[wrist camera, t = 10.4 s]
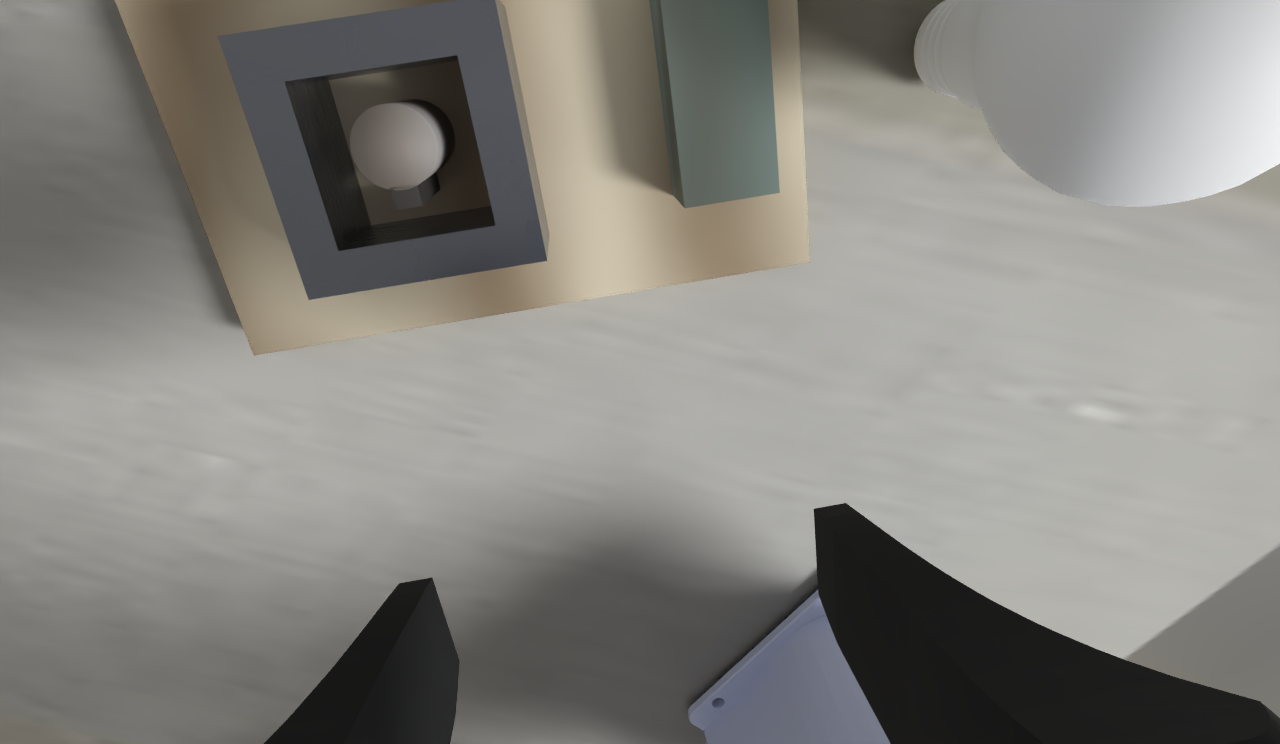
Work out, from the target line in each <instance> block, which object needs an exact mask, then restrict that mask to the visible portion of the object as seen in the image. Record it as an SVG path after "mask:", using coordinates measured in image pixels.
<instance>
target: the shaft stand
mask: <svg viewBox="0 0 1280 744" xmlns="http://www.w3.org/2000/svg"><path fill="white" fill-rule="evenodd" d="M447 1H453V0H115V2H116V5H117V7H118V10H119V12H120V15H121V18H122V20H123V23H124V25H125V28H126V30H127V33H128V35H129V38H130V41H131V43H132V46H133V48H134V51H135V53H136V56H137V58H138V61H139V64H140V66H141V69H142V71H143V74H144V76H145V79H146V81H147V84H148V87H149V89H150V92H151V94H152V97H153V99H154V102H155V104H156V107H157V109H158V112H159V115H160V117H161V120H162V122H163V125H164V127H165V130H166V132H167V135H168V138H169V140H170V143H171V145H172V148H173V150H174V153H175V155H176V158H177V161H178V163H179V166H180V168H181V171H182V173H183V176H184V178H185V181H186V184H187V186H188V189H189V191H190V194H191V196H192V199H193V201H194V204H195V207H196V209H197V212H198V214H199V217H200V219H201V222H202V224H203V227H204V230H205V232H206V235H207V237H208V240H209V242H210V245H211V247H212V250H213V252H214V255H215V258H216V260H217V263H218V265H219V268H220V270H221V273H222V275H223V278H224V281H225V283H226V286H227V288H228V291H229V293H230V296H231V298H232V301H233V304H234V306H235V309H236V311H237V314H238V316H239V319H240V321H241V324H242V327H243V329H244V332H245V334H246V337H247V339H248V342H249V344H250V347H251V350H252V352H253V355H259V354H265V353H271V352H277V351H283V350H289V349H295V348H301V347H307V346H313V345H319V344H325V343H331V342H337V341H343V340H349V339H355V338H361V337H367V336H372V335H378V334H384V333H390V332H396V331H402V330H408V329H414V328H420V327H426V326H432V325H438V324H444V323H450V322H456V321H462V320H468V319H474V318H480V317H486V316H492V315H498V314H504V313H510V312H516V311H522V310H528V309H534V308H540V307H546V306H551V305H557V304H563V303H569V302H575V301H581V300H587V299H593V298H599V297H605V296H611V295H617V294H623V293H629V292H635V291H641V290H647V289H653V288H659V287H665V286H671V285H677V284H683V283H689V282H695V281H701V280H707V279H713V278H719V277H725V276H730V275H736V274H742V273H748V272H754V271H760V270H766V269H772V268H778V267H784V266H790V265H796V264H802V263H808V262H810V254H809V233H808V212H807V191H806V170H805V149H804V128H803V107H802V86H801V65H800V44H799V23H798V2H797V0H500V2H501V3H502V4H503V5H504V6H505V8H506V13H507V18H508V23H509V28H510V34H511V39H512V44H513V49H514V54H515V59H516V64H517V69H518V75H519V80H520V85H521V90H522V95H523V100H524V105H525V111H526V116H527V121H528V126H529V131H530V136H531V141H532V147H533V152H534V157H535V162H536V167H537V172H538V177H539V182H540V188H541V193H542V198H543V203H544V208H545V213H546V218H547V224H548V229H549V234H550V235H549V247H548V258H547V261H543V262H537V263H531V264H525V265H519V266H513V267H507V268H501V269H495V270H489V271H482V272H476V273H470V274H464V275H458V276H452V277H446V278H440V279H434V280H428V281H422V282H416V283H410V284H403V285H397V286H391V287H385V288H379V289H373V290H367V291H361V292H355V293H349V294H343V295H337V296H331V297H324V298H318V299H312V300H308V297H307V294H306V291H305V288H304V285H303V282H302V279H301V276H300V273H299V271H298V268H297V265H296V262H295V259H294V256H293V253H292V250H291V247H290V245H289V242H288V239H287V236H286V233H285V230H284V227H283V224H282V221H281V218H280V216H279V213H278V210H277V207H276V204H275V201H274V198H273V195H272V192H271V189H270V187H269V184H268V181H267V178H266V175H265V172H264V169H263V166H262V163H261V161H260V158H259V155H258V152H257V149H256V146H255V143H254V140H253V137H252V134H251V132H250V129H249V126H248V123H247V120H246V117H245V114H244V111H243V108H242V106H241V103H240V100H239V97H238V94H237V91H236V88H235V85H234V82H233V79H232V77H231V74H230V71H229V68H228V65H227V62H226V59H225V56H224V53H223V50H222V48H221V45H220V42H219V39H218V36H221V35H228V34H234V33H241V32H248V31H254V30H261V29H267V28H274V27H281V26H287V25H294V24H301V23H307V22H314V21H321V20H327V19H334V18H340V17H347V16H354V15H360V14H367V13H374V12H380V11H387V10H393V9H400V8H407V7H413V6H420V5H427V4H433V3H440V2H447ZM329 83H330V87H331V90H332V94H333V97H334V100H335V104H336V107H337V110H338V114H339V117H340V121H341V124H342V127H343V131H344V134H345V138H346V141H347V144H348V148H349V151H350V155H351V158H352V161H353V165H354V168H355V172H356V175H357V178H358V182H359V185H360V188H361V192H362V195H363V199H364V202H365V205H366V209H367V212H368V216H369V219H370V222H371V225H376V224H382V223H388V222H395V221H401V220H407V219H413V218H419V217H426V216H432V215H438V214H444V213H450V212H457V211H463V210H469V209H475V208H481V207H488V206H491V203H490V199H489V194H488V190H487V185H486V181H485V176H484V172H483V167H482V163H481V158H480V154H479V150H478V145H477V141H476V136H475V132H474V127H473V123H472V118H471V114H470V109H469V105H468V101H467V96H466V92H465V87H464V83H463V78H462V74H461V69H460V65H459V60H458V61H452V62H445V63H439V64H432V65H426V66H419V67H413V68H406V69H400V70H393V71H387V72H380V73H374V74H367V75H361V76H354V77H348V78H341V79H335V80H329Z"/></svg>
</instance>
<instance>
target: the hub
mask: <svg viewBox="0 0 1280 744" xmlns="http://www.w3.org/2000/svg"><path fill="white" fill-rule="evenodd" d="M218 39H219V42H220V45H221V48H222V50H223V53H224V56H225V59H226V62H227V65H228V68H229V71H230V74H231V77H232V79H233V82H234V85H235V88H236V91H237V94H238V97H239V100H240V103H241V106H242V108H243V111H244V114H245V117H246V120H247V123H248V126H249V129H250V132H251V134H252V137H253V140H254V143H255V146H256V149H257V152H258V155H259V158H260V161H261V163H262V166H263V169H264V172H265V175H266V178H267V181H268V184H269V187H270V189H271V192H272V195H273V198H274V201H275V204H276V207H277V210H278V213H279V216H280V218H281V221H282V224H283V227H284V230H285V233H286V236H287V239H288V242H289V245H290V247H291V250H292V253H293V256H294V259H295V262H296V265H297V268H298V271H299V273H300V276H301V279H302V282H303V285H304V288H305V291H306V294H307V297H308V300H312V299H318V298H324V297H331V296H337V295H343V294H349V293H355V292H361V291H367V290H373V289H379V288H385V287H391V286H397V285H403V284H410V283H416V282H422V281H428V280H434V279H440V278H446V277H452V276H458V275H464V274H470V273H476V272H482V271H489V270H495V269H501V268H507V267H513V266H519V265H525V264H531V263H537V262H543V261H547V258H548V247H549V235H550V234H549V229H548V224H547V218H546V213H545V208H544V203H543V198H542V193H541V188H540V182H539V177H538V172H537V167H536V162H535V157H534V152H533V147H532V141H531V136H530V131H529V126H528V121H527V116H526V111H525V105H524V100H523V95H522V90H521V85H520V80H519V75H518V69H517V64H516V59H515V54H514V49H513V44H512V39H511V34H510V28H509V23H508V18H507V13H506V8H505V6H504V5H503V4H502V3H501V2H500V0H453V1H447V2H440V3H433V4H427V5H420V6H413V7H407V8H400V9H393V10H387V11H380V12H374V13H367V14H360V15H354V16H347V17H340V18H334V19H327V20H321V21H314V22H307V23H301V24H294V25H287V26H281V27H274V28H267V29H261V30H254V31H248V32H241V33H234V34H228V35H221V36H218ZM458 60H459V65H460V69H461V74H462V78H463V83H464V87H465V92H466V96H467V101H468V105H469V109H470V114H471V118H472V123H473V127H474V132H475V136H476V141H477V145H478V150H479V154H480V158H481V163H482V167H483V172H484V176H485V181H486V185H487V190H488V194H489V199H490V203H491V206H488V207H481V208H475V209H469V210H463V211H457V212H450V213H444V214H438V215H432V216H426V217H419V218H413V219H407V220H401V221H395V222H388V223H382V224H376V225H371V222H370V219H369V216H368V212H367V209H366V205H365V202H364V199H363V195H362V192H361V188H360V185H359V182H358V178H357V175H356V172H355V168H354V165H353V161H352V158H351V155H350V151H349V148H348V144H347V141H346V138H345V134H344V131H343V127H342V124H341V121H340V117H339V114H338V110H337V107H336V104H335V100H334V97H333V94H332V90H331V87H330V83H329V80H335V79H341V78H348V77H354V76H361V75H367V74H374V73H380V72H387V71H393V70H400V69H406V68H413V67H419V66H426V65H432V64H439V63H445V62H452V61H458Z"/></svg>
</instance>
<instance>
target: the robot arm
mask: <svg viewBox="0 0 1280 744" xmlns="http://www.w3.org/2000/svg"><path fill="white" fill-rule="evenodd" d="M814 519H815V538H816V557H817V576H818V590H817V591H816V592H815V593H813V594H812V595H811V596H810V597H809V598H808V599H807V600H806V601H805V602H804V603H803V604H801V605H800V606H799V607H798V608H797V609H796V610H795V611H794V612H793V613H792V614H791V615H789V616H788V617H787V618H786V619H785V620H784V621H783V622H782V623H781V624H780V625H779V626H777V627H776V628H775V629H774V630H773V631H772V632H771V633H770V634H769V635H768V636H767V637H765V638H764V639H763V640H762V641H761V642H760V643H759V644H758V645H757V646H756V647H755V648H753V649H752V650H751V651H750V652H749V653H748V654H747V655H746V656H745V657H744V658H743V659H741V660H740V661H739V662H738V663H737V664H736V665H735V666H734V667H733V668H732V669H731V670H729V671H728V672H727V673H726V674H725V675H724V676H723V677H722V678H721V679H720V680H719V681H717V682H716V683H715V684H714V685H713V686H712V687H711V688H710V689H709V690H708V691H707V692H705V693H704V694H703V695H702V696H701V697H700V698H699V699H698V700H697V701H696V702H695V703H693V704H692V705H691V706H690V708H689V709H688V717H689V721H690V723H691V724H693V725H694V726H696V727H698V728H699V729H701V730H703V731H704V733H705V738H706V743H707V744H1280V718H1279V717H1278V716H1277V715H1275V714H1274V713H1273V712H1272V711H1271V710H1270V709H1268V708H1267V707H1266V706H1265V705H1263V704H1262V703H1261V702H1260V701H1256V700H1253V699H1249V698H1246V697H1242V696H1239V695H1235V694H1231V693H1228V692H1225V691H1221V690H1218V689H1214V688H1211V687H1207V686H1204V685H1200V684H1197V683H1193V682H1190V681H1186V680H1183V679H1179V678H1176V677H1173V676H1170V675H1167V674H1164V673H1161V672H1158V671H1155V670H1152V669H1149V668H1147V667H1144V666H1141V665H1138V664H1135V663H1132V662H1129V661H1126V660H1124V659H1121V658H1118V657H1116V656H1113V655H1110V654H1108V653H1105V652H1102V651H1100V650H1097V649H1095V648H1092V647H1090V646H1088V645H1085V644H1083V643H1080V642H1078V641H1076V640H1073V639H1071V638H1069V637H1066V636H1064V635H1062V634H1059V633H1057V632H1055V631H1052V630H1050V629H1048V628H1046V627H1044V626H1041V625H1039V624H1037V623H1035V622H1033V621H1031V620H1029V619H1027V618H1025V617H1023V616H1021V615H1019V614H1017V613H1015V612H1013V611H1011V610H1009V609H1007V608H1005V607H1003V606H1001V605H999V604H997V603H995V602H994V601H992V600H990V599H988V598H986V597H984V596H983V595H981V594H979V593H977V592H976V591H974V590H972V589H971V588H969V587H967V586H966V585H964V584H962V583H961V582H959V581H957V580H956V579H954V578H952V577H951V576H949V575H947V574H946V573H944V572H943V571H941V570H940V569H938V568H936V567H935V566H933V565H932V564H930V563H929V562H927V561H926V560H924V559H923V558H921V557H920V556H918V555H917V554H915V553H914V552H912V551H911V550H909V549H908V548H907V547H905V546H904V545H902V544H901V543H900V542H898V541H897V540H895V539H894V538H893V537H891V536H890V535H889V534H887V533H886V532H884V531H883V530H882V529H880V528H879V527H878V526H876V525H875V524H873V523H872V522H871V521H869V520H868V519H867V518H865V517H864V516H863V515H861V514H860V513H859V512H857V511H856V510H854V509H853V508H852V507H850V506H849V505H848V504H846V503H844V504H839V505H833V506H827V507H822V508H816V509H814ZM458 673H459V658H458V655H457V652H456V649H455V646H454V643H453V640H452V637H451V634H450V631H449V628H448V625H447V622H446V619H445V616H444V613H443V610H442V606H441V603H440V600H439V597H438V594H437V591H436V588H435V585H434V582H433V579H432V578H427V579H422V580H416V581H411V582H405V583H400V584H399V585H398V586H397V587H396V588H395V589H394V591H393V592H392V593H391V594H390V596H389V597H388V598H387V600H386V601H385V602H384V603H383V605H382V606H381V607H380V609H379V610H378V611H377V612H376V614H375V615H374V616H373V618H372V619H371V620H370V621H369V623H368V624H367V625H366V627H365V628H364V629H363V630H362V632H361V633H360V634H359V636H358V637H357V638H356V639H355V641H354V642H353V643H352V644H351V646H350V647H349V648H348V649H347V651H346V652H345V653H344V654H343V656H342V657H341V658H340V659H339V661H338V662H337V663H336V664H335V666H334V667H333V668H332V669H331V670H330V672H329V673H328V674H327V675H326V676H325V677H324V678H323V680H322V681H321V682H320V683H319V684H318V685H317V686H316V688H315V689H314V690H313V691H312V692H311V693H310V694H309V696H308V697H307V698H306V699H305V700H304V701H303V702H302V704H301V705H300V706H299V707H298V708H297V709H296V710H295V712H294V713H293V714H292V715H291V716H290V717H289V718H288V719H287V720H286V721H285V722H284V723H283V725H282V726H281V727H280V728H279V729H278V730H277V731H276V732H275V733H274V734H273V735H272V736H271V737H270V738H269V739H268V740H267V741H266V742H265V743H264V744H450V740H451V735H452V730H453V725H454V719H455V713H456V701H457V689H458ZM716 698H720V699H717V700H714V699H716Z"/></svg>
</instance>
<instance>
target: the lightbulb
mask: <svg viewBox="0 0 1280 744" xmlns="http://www.w3.org/2000/svg"><path fill="white" fill-rule="evenodd" d="M914 62H915V67H916V70H917V73H918V75H919V77H920V78H921V80H922V82H923V83H924V84H925V85H926V86H927V87H928V88H930V89H931V90H933V91H935V92H937V93H940V94H943V95H946V96H949V97H955V98H958V99H959V100H960V101H961V102H963V103H965V104H966V105H968V106H970V107H972V108H975V109H978V110H982V112H983V115H984V117H985V120H986V122H987V124H988V127H989V129H990V131H991V132H992V134H993V136H994V137H995V139H996V140H997V142H998V144H999V145H1000V147H1001V149H1002V150H1003V152H1004V153H1005V154H1006V155H1007V156H1008V157H1010V158H1011V159H1012V160H1013V161H1014V162H1015V163H1016V164H1017V165H1018V166H1019V167H1020V168H1021V169H1022V170H1023V171H1025V172H1026V173H1028V174H1029V175H1030V176H1032V177H1033V178H1035V179H1036V180H1038V181H1039V182H1041V183H1043V184H1044V185H1046V186H1048V187H1050V188H1051V189H1053V190H1055V191H1056V192H1058V193H1061V194H1064V195H1068V196H1071V197H1074V198H1078V199H1081V200H1085V201H1089V202H1093V203H1097V204H1101V205H1110V206H1129V207H1138V206H1158V205H1165V204H1171V203H1177V202H1183V201H1188V200H1193V199H1197V198H1201V197H1206V196H1210V195H1213V194H1216V193H1219V192H1221V191H1224V190H1227V189H1230V188H1233V187H1236V186H1238V185H1241V184H1243V183H1245V182H1246V181H1248V180H1250V179H1252V178H1254V177H1256V176H1258V175H1260V174H1261V173H1263V172H1265V171H1267V170H1269V169H1271V168H1272V167H1274V166H1276V165H1278V164H1280V0H944V1H943V2H941V3H940V4H938V5H937V6H936V7H935V8H934V9H933V10H931V12H930V13H929V14H928V15H927V17H926V18H925V19H924V21H923V23H922V24H921V26H920V28H919V31H918V33H917V36H916V40H915V45H914Z"/></svg>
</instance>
